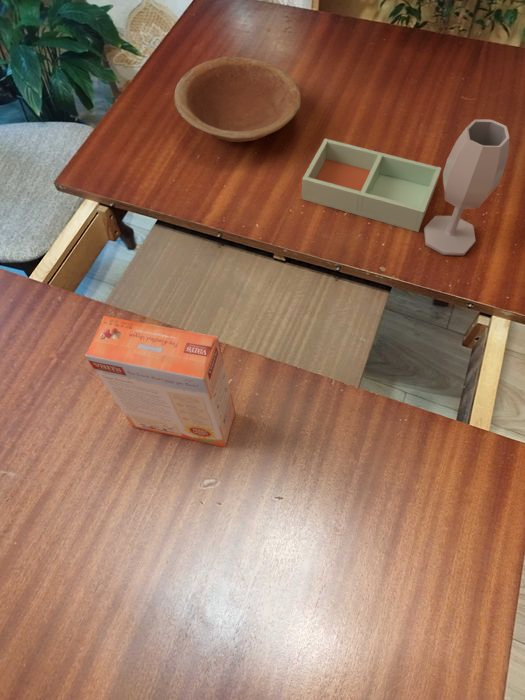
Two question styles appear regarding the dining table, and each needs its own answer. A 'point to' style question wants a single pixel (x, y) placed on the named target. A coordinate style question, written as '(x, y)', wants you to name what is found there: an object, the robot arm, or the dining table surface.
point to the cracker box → (165, 379)
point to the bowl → (237, 98)
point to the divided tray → (370, 184)
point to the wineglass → (468, 183)
